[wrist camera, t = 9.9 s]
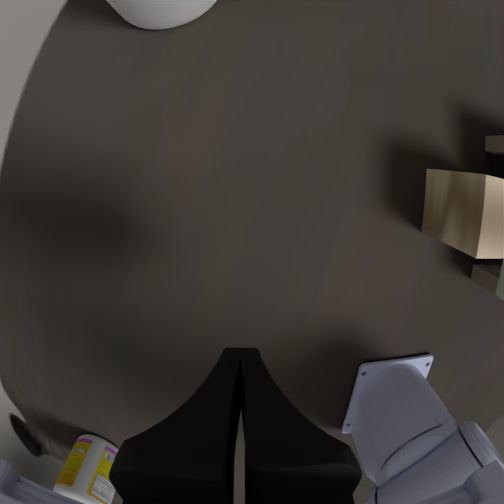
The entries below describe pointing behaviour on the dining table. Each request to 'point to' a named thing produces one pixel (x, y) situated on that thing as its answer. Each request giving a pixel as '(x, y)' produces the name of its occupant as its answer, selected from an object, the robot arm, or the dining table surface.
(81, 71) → the dining table surface
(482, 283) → the green top stand
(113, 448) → the supplement bottle
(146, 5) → the mug
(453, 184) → the beige piece
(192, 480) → the robot arm
